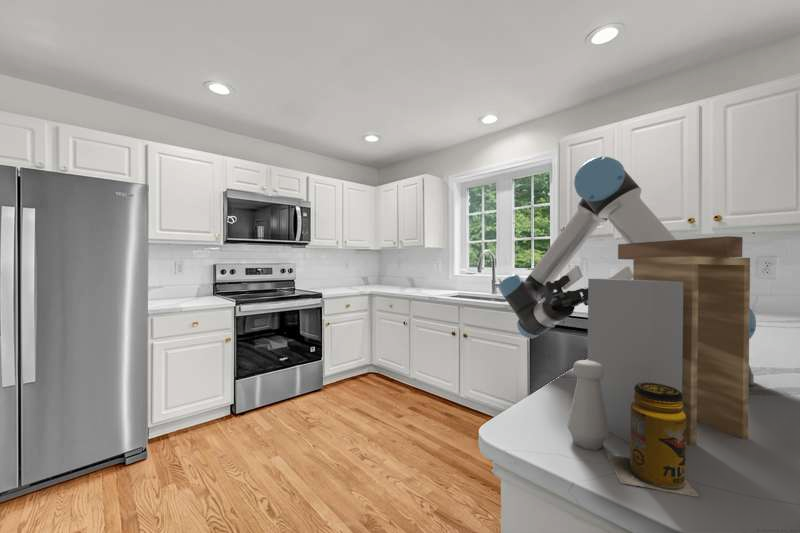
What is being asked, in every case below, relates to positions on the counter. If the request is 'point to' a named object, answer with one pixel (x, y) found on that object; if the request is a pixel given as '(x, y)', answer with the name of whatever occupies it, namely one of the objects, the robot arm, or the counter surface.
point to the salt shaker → (588, 407)
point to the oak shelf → (710, 337)
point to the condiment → (656, 441)
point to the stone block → (634, 340)
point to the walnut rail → (683, 248)
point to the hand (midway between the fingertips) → (605, 271)
